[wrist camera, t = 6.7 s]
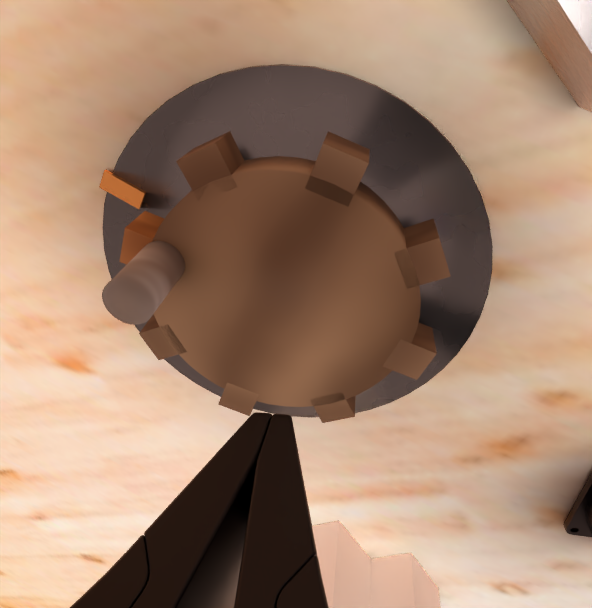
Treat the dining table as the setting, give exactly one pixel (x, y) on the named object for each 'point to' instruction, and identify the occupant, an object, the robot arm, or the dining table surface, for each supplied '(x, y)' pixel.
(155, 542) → the robot arm
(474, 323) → the sprocket base
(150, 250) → the sprocket
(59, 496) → the dining table surface
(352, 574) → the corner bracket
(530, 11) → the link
